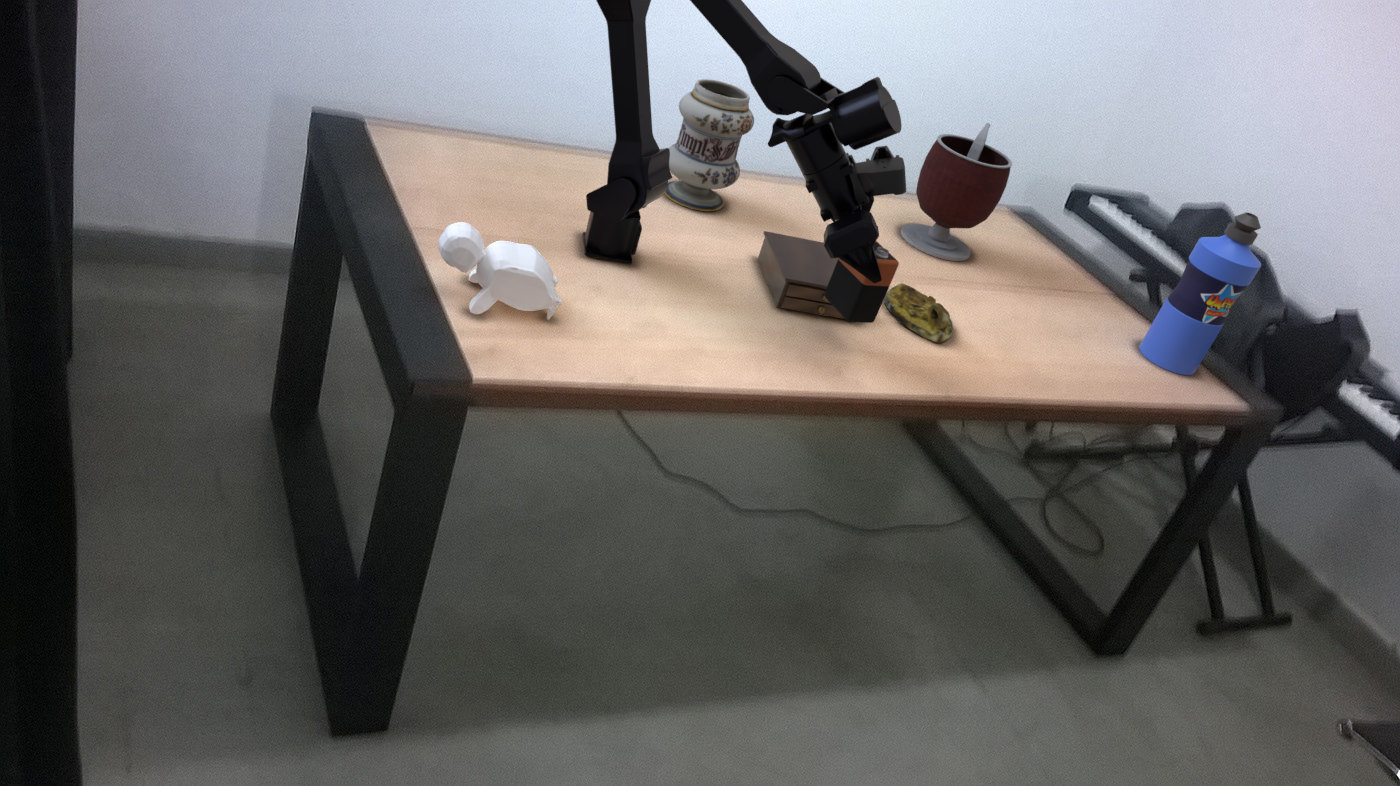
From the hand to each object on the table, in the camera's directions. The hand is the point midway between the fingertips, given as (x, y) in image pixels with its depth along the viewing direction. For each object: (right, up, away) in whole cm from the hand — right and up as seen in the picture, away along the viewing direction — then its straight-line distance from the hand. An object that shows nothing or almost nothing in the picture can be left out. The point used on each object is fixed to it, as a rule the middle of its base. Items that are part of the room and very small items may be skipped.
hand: (876, 268), depth 135 cm
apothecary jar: (-24, +15, +35) cm, 44 cm away
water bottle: (+51, -11, +32) cm, 61 cm away
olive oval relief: (+9, -5, +20) cm, 22 cm away
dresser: (-7, -1, +17) cm, 18 cm away
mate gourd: (+18, +10, +48) cm, 52 cm away
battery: (-3, -5, +3) cm, 7 cm away
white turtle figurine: (-47, -5, -10) cm, 48 cm away
